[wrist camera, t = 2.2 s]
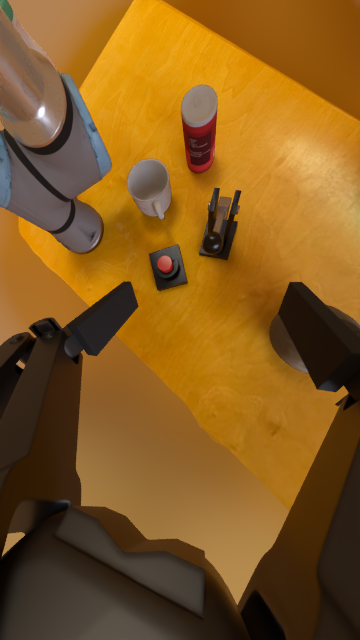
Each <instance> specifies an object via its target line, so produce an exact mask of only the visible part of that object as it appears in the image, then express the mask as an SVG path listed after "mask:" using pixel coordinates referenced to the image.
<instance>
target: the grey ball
mask: <svg viewBox="0 0 360 640" xmlns="http://www.w3.org/2000/svg"><path fill="white" fill-rule="evenodd" d="M326 306H327V307H328V308H329V309H330V310H331V311H333V312H334V313H335V314H336V315H337V316H338V317H339V318H340V319H346V320H348V321H349V322H351V323H353V324H355V325H356V326H357V327H359V328H360V325H359V324H358V323H357V322H356V321H355V320H354V319H353V318H351V317H350V316H348V315H346V314H345V313H343V312H342V311H340V310H338V309H336V308H334V307H332V306H328V305H326ZM270 341H271V344H272V346H273V348H274V350H275V351H276V353H277V354H278V355H279V357H280V358H282V359H283V360H284V361H285V362H286V363H287V364H289V365H290V366H291V367H293V368H295V369H297V370H299V371H301V372H304V373H307V374H309V373H308V371H307V369H306V367H305V365H304V363H303V361H302V359H301V357H300V355H299V353H298V351H297V349H296V347H295V345H294V343H293V342H292V340H291V338H290V336H289V334H288V332H287V330H286V328H285V326H284V324H283V322H282V320H281V318H280V316H279V314H277V315H276V317H275V318H274V319H273V321H272V323H271V326H270Z"/></svg>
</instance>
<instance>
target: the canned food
mask: <svg viewBox="0 0 360 640" xmlns="http://www.w3.org/2000/svg"><path fill="white" fill-rule="evenodd" d="M181 114H182V124H183V133H184V141H185V150H186V159H187V164H188V166H189V168H190V169H191V170H192V171H193V172H195V173H202V172H205V171H206V170H208V169H209V168H210V166H211V164H212V162H213V159H214V150H215V135H216V120H217V95H216V92H215V91H214V90H213V88H211V87H210V86H207V85H198V86H195V87H193V88H192V89H190V90H189V91H188V92H187V93H186V95H185V96H184V98H183V101H182V104H181Z"/></svg>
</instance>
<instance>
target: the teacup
mask: <svg viewBox="0 0 360 640" xmlns="http://www.w3.org/2000/svg"><path fill="white" fill-rule="evenodd" d="M127 187H128V191H129V193H130V194H131V196H132V197H133V199H134V201H135V203H136V205H137V206H138V208H139V209H140V210H141V211H142V212H143V213H144V214H146V215H148V216H158V217H159V219H163V218H164V217H165V216H164V212H165V211H166V210H167V209H168V207H169V205H170V202H171V187H170V181H169V173H168V170H167V168H166V166H165V165H164V164H163V163H162V162H161V161H159V160H156V159H145V160H142V161H140V162H138V163H137V164H135V165H134V167H132V169H131V170H130V172H129V175H128V178H127Z"/></svg>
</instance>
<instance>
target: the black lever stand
mask: <svg viewBox="0 0 360 640" xmlns="http://www.w3.org/2000/svg"><path fill="white" fill-rule="evenodd" d="M219 190H220V188H214V192H213V196H212V200H211V202H209V205H208V211H209V213H208V221H207V225H206V229H205V233H204V237H205V236H206V234H208V233H209V232H212V231H213V229H214V226H215V223H216V220H217V218H216V212H217V206H218V198H219ZM240 194H241V191H239V190H236V192H235V195H234V199H233V203H232V207H231V210H230V214H229V218H228V220H224V219H223V221H222V225H221V228H220V232H219V233H220V234H221V235H222V237H223V246H222V248H221V250H220V251H219V252H218V253H216V254H213V255H211V254H207V253H206V252H205V251H204V249H203V246H202V245H201V249H200V252H199V255H203V256H208V257H214V258H219V259H224V260H228V256H229V253H230V249H231V245H232V242H233V238H234V234H235V231H236V227H237V223H238V222H237V221H233V220H234V216H235V214H238V211H239V207H240V206H239V205H238V202H239V198H240ZM204 237H203V239H204ZM202 242H203V241H202Z"/></svg>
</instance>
